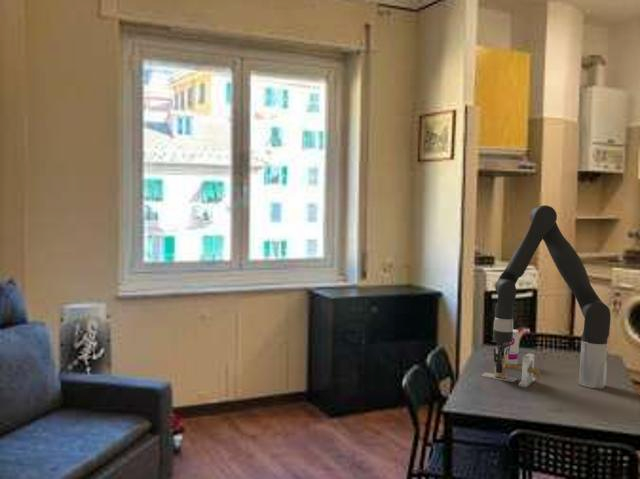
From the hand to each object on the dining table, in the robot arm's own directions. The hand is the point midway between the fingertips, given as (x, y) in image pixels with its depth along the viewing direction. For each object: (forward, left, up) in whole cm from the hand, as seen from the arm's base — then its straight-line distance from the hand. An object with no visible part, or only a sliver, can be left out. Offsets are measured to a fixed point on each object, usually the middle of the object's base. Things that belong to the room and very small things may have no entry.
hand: (500, 371), depth 256 cm
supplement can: (+4, -24, -3) cm, 25 cm away
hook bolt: (-7, 0, -2) cm, 7 cm away
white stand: (-2, 0, -3) cm, 4 cm away
